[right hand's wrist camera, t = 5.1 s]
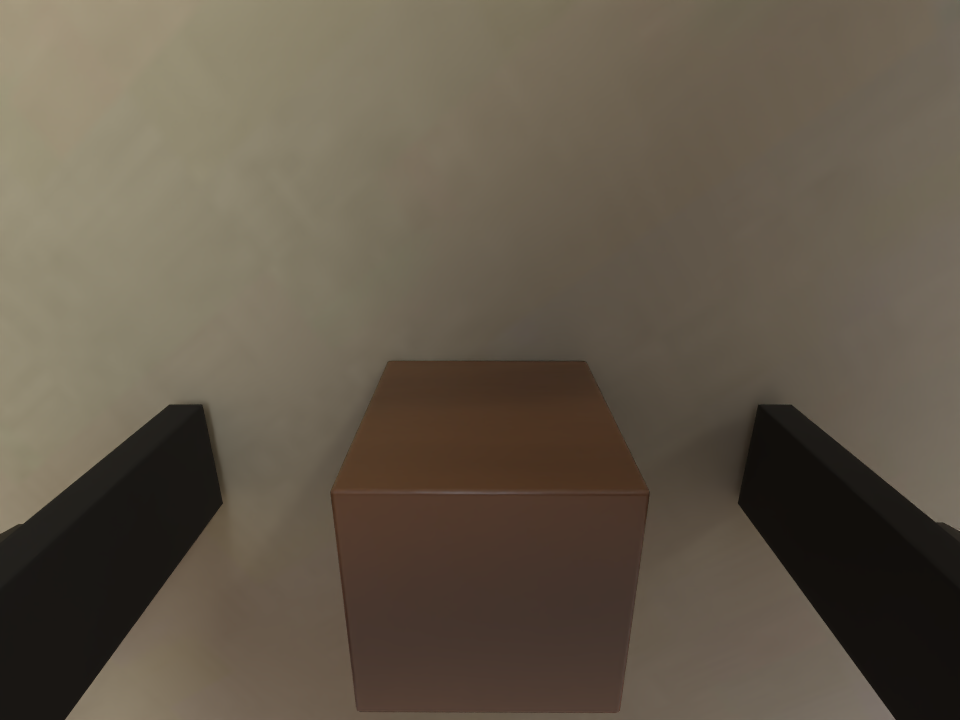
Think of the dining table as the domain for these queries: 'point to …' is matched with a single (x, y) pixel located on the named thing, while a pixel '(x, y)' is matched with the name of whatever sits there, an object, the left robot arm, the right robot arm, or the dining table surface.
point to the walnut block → (489, 540)
